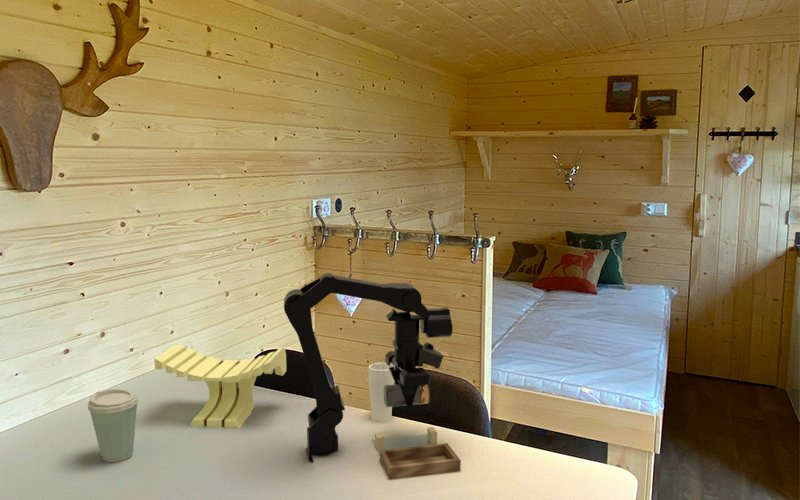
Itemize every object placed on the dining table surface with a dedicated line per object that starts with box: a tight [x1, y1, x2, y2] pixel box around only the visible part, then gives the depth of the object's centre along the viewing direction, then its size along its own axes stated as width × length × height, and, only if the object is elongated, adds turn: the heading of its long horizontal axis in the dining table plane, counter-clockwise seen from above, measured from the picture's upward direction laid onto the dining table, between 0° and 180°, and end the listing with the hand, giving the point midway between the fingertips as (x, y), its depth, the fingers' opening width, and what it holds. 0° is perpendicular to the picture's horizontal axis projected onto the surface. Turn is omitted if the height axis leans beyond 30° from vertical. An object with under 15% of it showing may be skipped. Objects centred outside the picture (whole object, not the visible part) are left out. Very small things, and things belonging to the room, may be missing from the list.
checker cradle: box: [371, 426, 439, 457], centre depth 156 cm, size 15×9×4 cm, turn 105°
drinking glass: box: [368, 362, 395, 423], centre depth 172 cm, size 7×7×15 cm
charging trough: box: [379, 442, 462, 481], centre depth 145 cm, size 16×9×4 cm, turn 105°
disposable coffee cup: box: [87, 387, 139, 463], centre depth 150 cm, size 11×11×15 cm
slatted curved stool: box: [154, 344, 287, 429], centre depth 175 cm, size 30×16×18 cm, turn 85°
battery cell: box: [384, 384, 431, 408], centre depth 154 cm, size 10×5×5 cm, turn 105°
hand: (406, 402), depth 155 cm, fingers closed on battery cell, 5 cm apart
